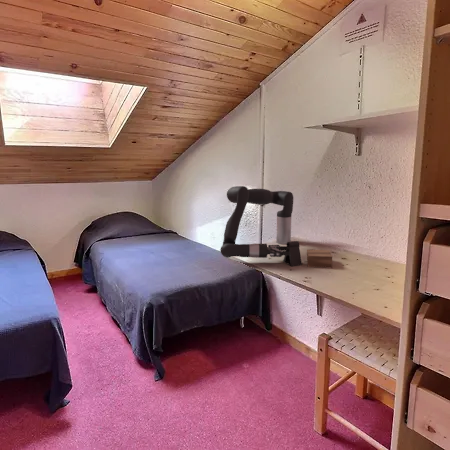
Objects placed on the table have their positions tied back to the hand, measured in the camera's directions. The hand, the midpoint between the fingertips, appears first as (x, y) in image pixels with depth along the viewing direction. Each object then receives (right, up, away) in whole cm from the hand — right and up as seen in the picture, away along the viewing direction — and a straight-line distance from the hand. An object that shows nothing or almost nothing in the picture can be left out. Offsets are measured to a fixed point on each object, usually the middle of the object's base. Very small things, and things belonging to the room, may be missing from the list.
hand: (288, 250), depth 188 cm
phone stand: (+2, -7, +1) cm, 8 cm away
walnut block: (+16, -7, +1) cm, 18 cm away
